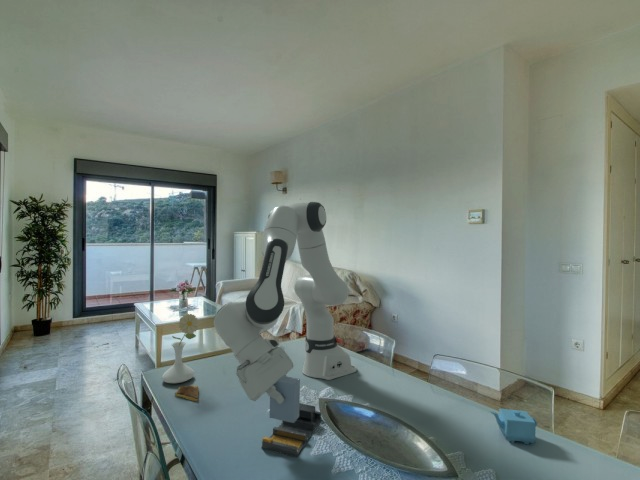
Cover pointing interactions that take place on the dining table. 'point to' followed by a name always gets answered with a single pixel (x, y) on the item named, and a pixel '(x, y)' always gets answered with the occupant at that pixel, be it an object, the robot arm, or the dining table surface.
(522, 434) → the teapot
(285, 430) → the rack
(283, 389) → the blue-grey rectangular block
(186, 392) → the shard
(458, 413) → the dining table surface
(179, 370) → the flower in vase
